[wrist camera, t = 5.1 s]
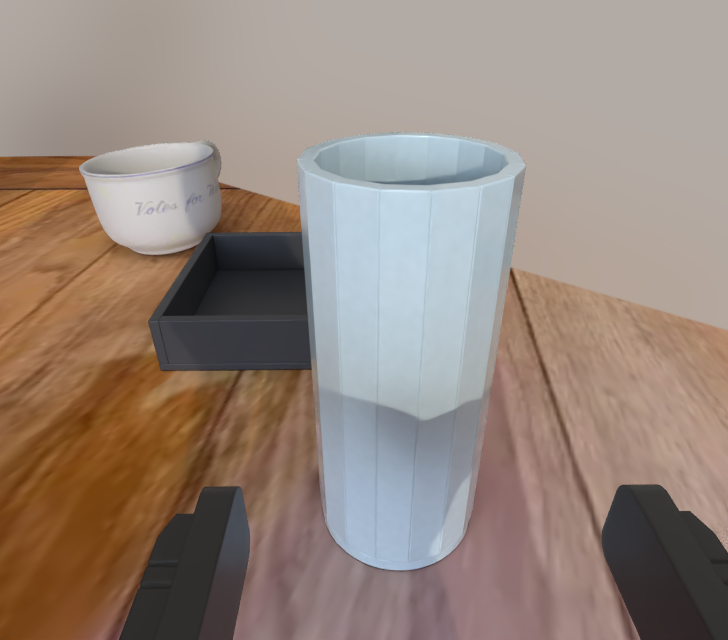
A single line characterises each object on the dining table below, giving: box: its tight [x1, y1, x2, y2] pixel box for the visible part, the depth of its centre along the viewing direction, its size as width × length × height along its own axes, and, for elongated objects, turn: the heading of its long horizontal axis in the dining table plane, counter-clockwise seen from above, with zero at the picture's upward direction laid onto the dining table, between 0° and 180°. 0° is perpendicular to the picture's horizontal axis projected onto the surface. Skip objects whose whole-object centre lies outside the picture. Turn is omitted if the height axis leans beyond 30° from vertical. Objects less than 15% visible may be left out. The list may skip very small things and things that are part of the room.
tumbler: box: [297, 132, 526, 571], centre depth 19 cm, size 6×6×15 cm
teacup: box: [79, 140, 222, 255], centre depth 47 cm, size 14×11×8 cm
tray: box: [148, 232, 312, 370], centre depth 36 cm, size 13×13×4 cm
